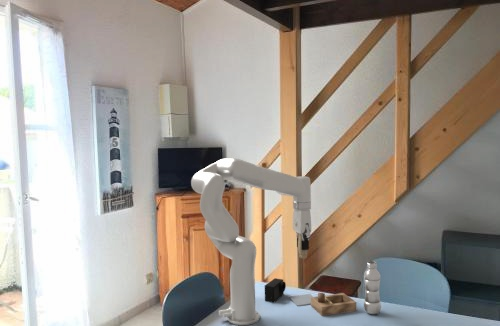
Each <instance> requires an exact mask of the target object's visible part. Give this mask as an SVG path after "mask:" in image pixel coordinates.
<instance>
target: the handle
mask: <svg viewBox="0 0 500 326" xmlns="http://www.w3.org/2000/svg"><path fill="white" fill-rule="evenodd" d="M295 226H296V227H297V224H296V223H295ZM304 233H306V232H304ZM304 236H305V235H304ZM301 241H302V234H299V239H298V247H297V248H298V255H299V259H307V258H308V250H309V249H308V250H301Z"/></svg>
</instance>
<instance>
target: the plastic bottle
mask: <svg viewBox="0 0 500 326" xmlns="http://www.w3.org/2000/svg"><path fill="white" fill-rule="evenodd" d="M366 263H367V265H366V270H365V271H364V274H363V280H364V289H365V290H364V291H365V293H364V303H363V309H364V311H365V313H367V314H370V315H378V314H379V313H380V312H381V309H382V303H381V299H380V285H381V284H380V283H381V273H380V271H378V269H377V268H378V264H377V262H376V261H373V260H372V261H371V260H369V261H367V262H366Z"/></svg>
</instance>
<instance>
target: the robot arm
mask: <svg viewBox="0 0 500 326" xmlns="http://www.w3.org/2000/svg"><path fill="white" fill-rule="evenodd" d="M226 180H227V181H233V182H236V183H240V184H243V185H246V186H250V187H253V188H256V189H260V190H266V191H274V192H275V193H277V194H279V195H281V196H287V197H292V209H293V212H292V230H293V231H294V232H295V233H296V247H297V248H298V239H299V234H302V241H301V250H309V249H310V244H309V243H310V242H309V241H310V237H311V233H312V216H311V210H312V198H311V197H312V195H311V193H312V191H311V190H312V189H311V179H310V177H309V176H307V175H306V176H304V175H302V176H300V175H299V176H293V175H290V174H287V173H284V172H279V171H276V170H273V169H271V168H267V167H263V166H260V165H257V164H254V163H251V162H249V161H246V160H243V159H239V158H232V157H231V158H230V157H228V158H227V157H226V158H225V157H224V158H221V159H219V160H217V161H216V162H214V163H211V164H209V165H208V166H206V167H205V168H202V169H200V170H199V171H198V172H197V171H196V173H194V175H193V176H192V177H191V180H190V184H191V189H192V190H193V191H194V192H195V193H197V194H200V199H199V200H200V201H199V209H200V210H199V211H200V213H201V215H202V216H203V218H204V220H205V221H204V231H205V234H206V235H207V237H208V238H209V239H210V241H211V242H212V244H213V245H214V246H215V248H216V249H217V250H218V252H219V253H220V254H221V255H222V256H224V257H225V258H228V259H230V260H231V261H232V262H231V266H230V269H229V283H230V284H229V287H230V289H229V290H230V305H228V308H226V309H219V310H218V316H220V317H221V316H223V318H226V320H227V321H228V322H229V324H230V323H231V324H232V325H236V326H238V325H239V326H247V325H248V326H249V325H252V324H255V323H257V322H259V320H260V317H261V316H260V313H259V312H258V311H256V281H255V280H256V279H255V271H256V270H255V267H256V259H257V258H256V257H257V247H256V244H255V243H254V241H252V240H251V239H249V238H247V237H244V236H241V235H240V228H239V225H238V223H237V222H236V221H235V219H234V218H233V216H232V215H231V214H230V212H229V211H228V209H226V207H225V204H224V203H223V195H224V191H225V189H226V188H225V187H226V183H225V181H226ZM295 223H296V224H297V227H296V226H295ZM304 232H306V233H304ZM304 235H305V236H304Z"/></svg>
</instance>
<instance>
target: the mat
mask: <svg viewBox="0 0 500 326" xmlns="http://www.w3.org/2000/svg"><path fill="white" fill-rule="evenodd" d="M311 297H314V295H312V294H311V293H306V294H305V293H304V294H299V295H292V296H291V295H290V296H288V298H289V300H290V301H292V303H294V305H296V306H297V307H301V306H309V305H310V306H311Z"/></svg>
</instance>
